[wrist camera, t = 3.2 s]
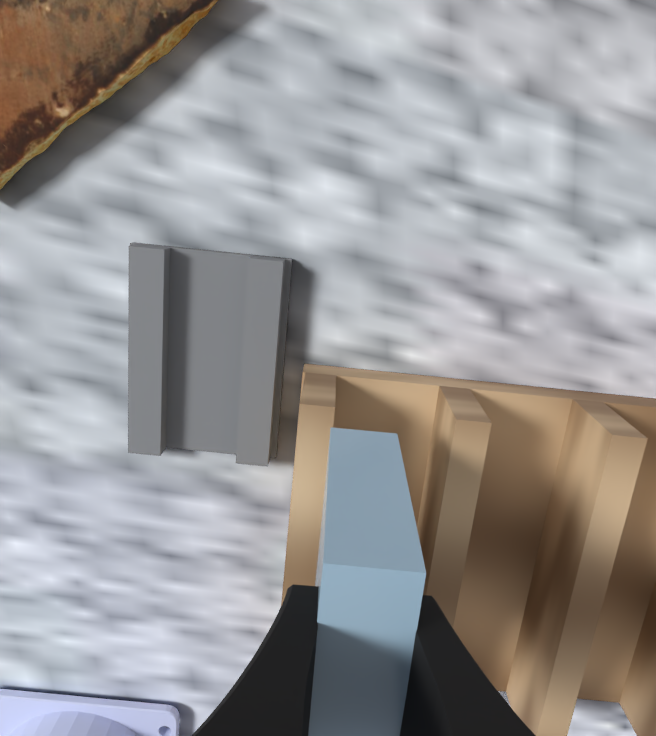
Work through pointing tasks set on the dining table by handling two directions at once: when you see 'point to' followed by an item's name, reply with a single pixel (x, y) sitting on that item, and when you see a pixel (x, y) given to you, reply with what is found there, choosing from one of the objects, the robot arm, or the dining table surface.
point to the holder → (206, 351)
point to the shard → (75, 61)
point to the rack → (512, 526)
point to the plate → (365, 588)
